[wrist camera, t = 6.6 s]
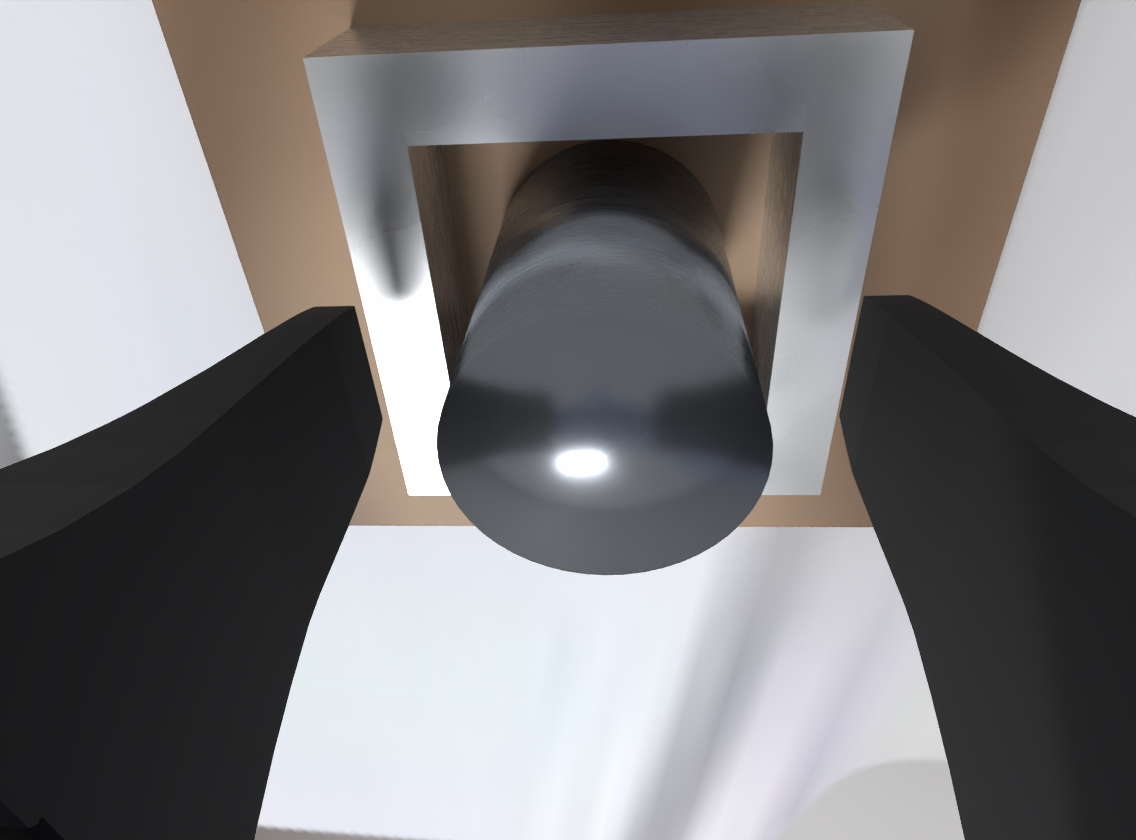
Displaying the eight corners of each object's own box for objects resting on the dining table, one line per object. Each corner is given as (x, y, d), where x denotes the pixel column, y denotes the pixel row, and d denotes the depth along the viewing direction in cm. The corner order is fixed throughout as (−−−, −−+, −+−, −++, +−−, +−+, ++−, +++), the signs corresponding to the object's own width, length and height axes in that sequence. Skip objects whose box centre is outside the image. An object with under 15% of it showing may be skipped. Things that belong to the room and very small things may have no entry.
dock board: (1138, -287, 10) (1174, -297, 9) (904, 503, 18) (914, 527, 18) (111, -210, 11) (78, -213, 10) (339, 503, 19) (329, 525, 19)
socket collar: (868, 1, 11) (914, 29, 9) (798, 424, 16) (820, 494, 14) (350, 27, 12) (302, 57, 10) (431, 426, 17) (408, 494, 15)
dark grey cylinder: (728, 135, 12) (793, 311, 8) (713, 343, 15) (755, 577, 10) (488, 143, 13) (409, 316, 8) (511, 345, 15) (460, 573, 10)
